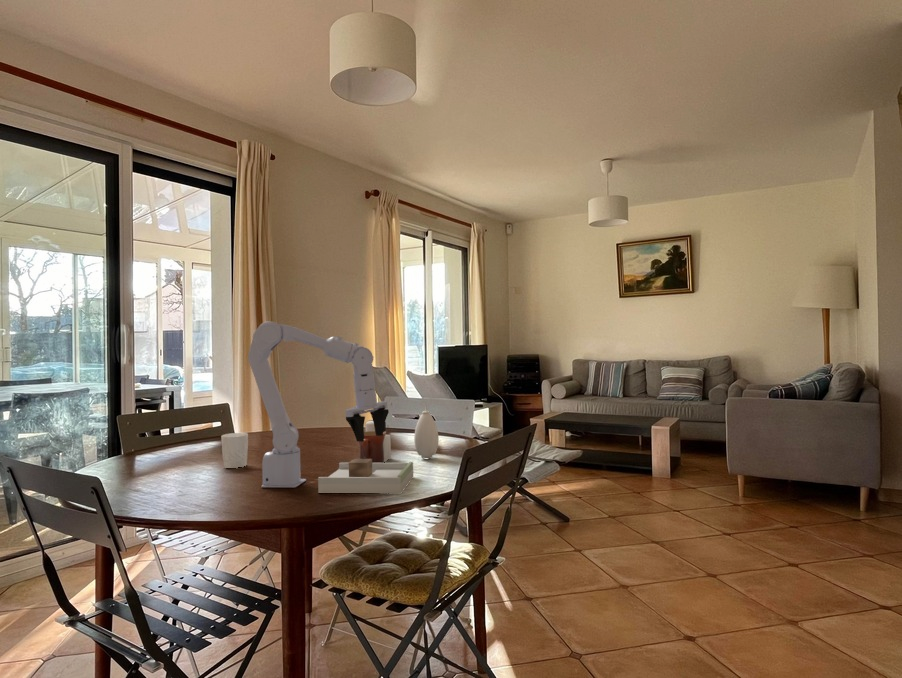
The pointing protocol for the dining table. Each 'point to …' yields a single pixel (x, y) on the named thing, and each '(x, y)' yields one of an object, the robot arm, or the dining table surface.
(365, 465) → the block
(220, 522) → the dining table surface
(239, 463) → the white cup
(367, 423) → the container
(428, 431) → the sauce bottle
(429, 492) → the dining table surface
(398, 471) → the tray
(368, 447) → the mug
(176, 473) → the dining table surface
